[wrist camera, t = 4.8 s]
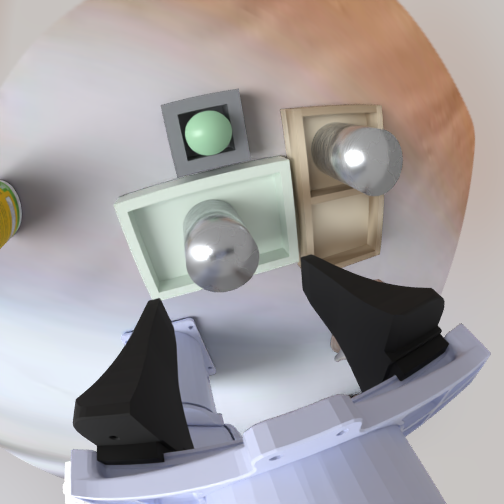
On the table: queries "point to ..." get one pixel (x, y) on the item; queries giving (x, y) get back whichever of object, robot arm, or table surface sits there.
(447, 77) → the table surface
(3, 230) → the supplement bottle
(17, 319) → the table surface
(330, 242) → the divided tray
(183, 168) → the frame
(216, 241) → the billet
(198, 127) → the button
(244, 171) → the pale green tray
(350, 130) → the cylinder
